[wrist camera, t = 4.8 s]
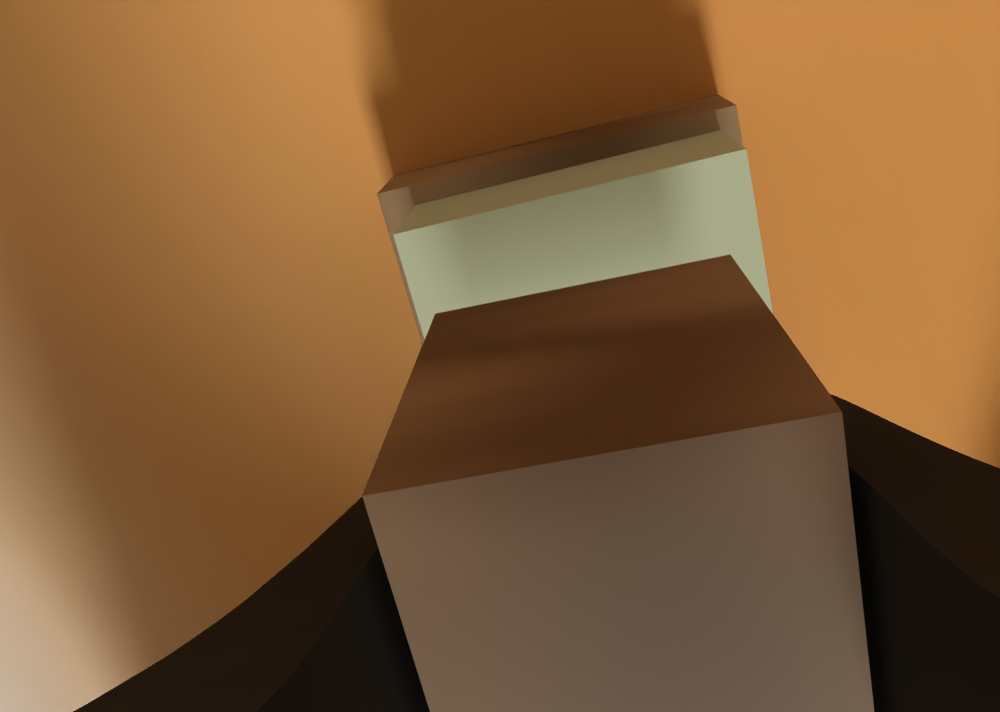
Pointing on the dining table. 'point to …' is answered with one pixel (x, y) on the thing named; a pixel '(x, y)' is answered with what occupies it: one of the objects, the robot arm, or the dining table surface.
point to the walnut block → (623, 506)
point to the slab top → (585, 226)
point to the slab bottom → (552, 158)
